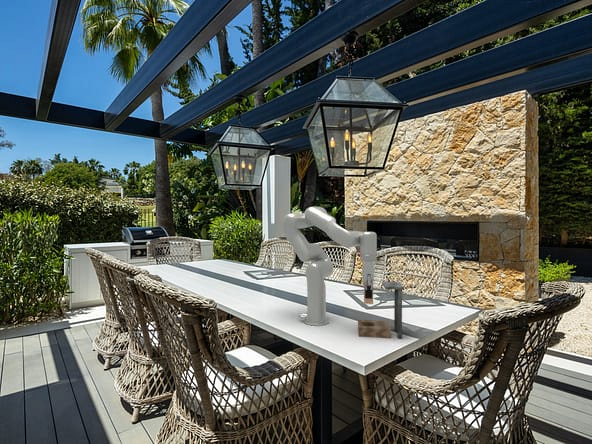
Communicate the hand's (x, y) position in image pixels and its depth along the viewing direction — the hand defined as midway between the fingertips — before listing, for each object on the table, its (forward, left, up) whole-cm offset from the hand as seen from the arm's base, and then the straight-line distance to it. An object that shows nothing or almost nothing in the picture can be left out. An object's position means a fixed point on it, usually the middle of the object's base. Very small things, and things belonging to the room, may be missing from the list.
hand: (368, 296), depth 155 cm
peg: (0, 0, -3) cm, 3 cm away
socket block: (+5, 0, -17) cm, 18 cm away
